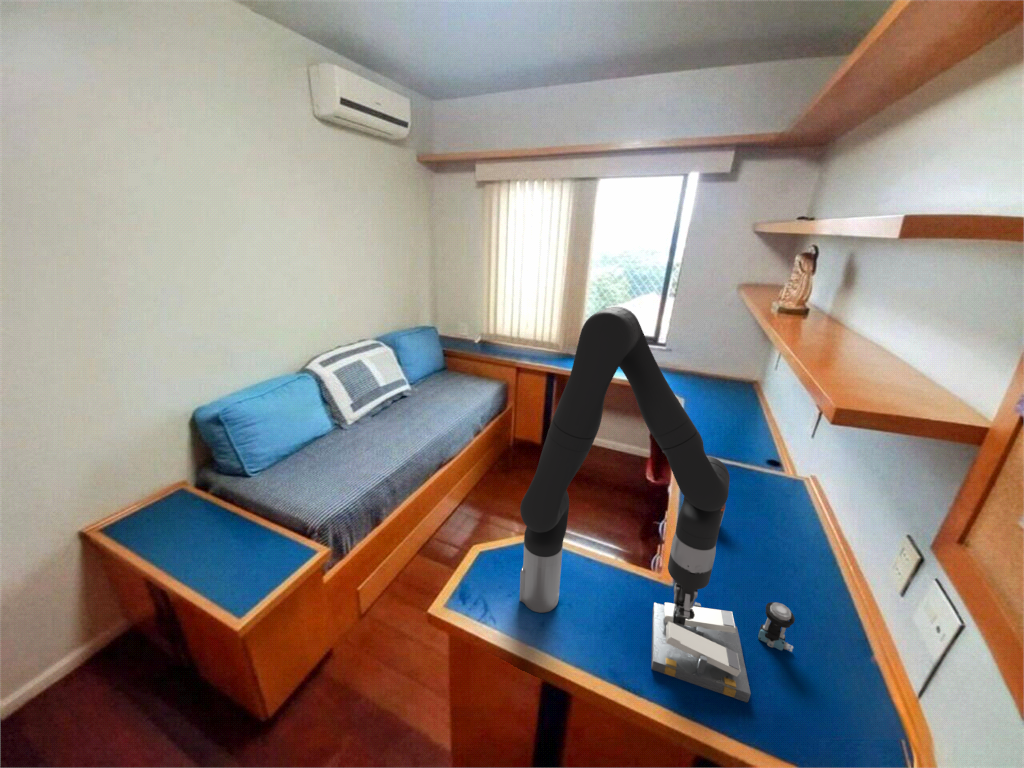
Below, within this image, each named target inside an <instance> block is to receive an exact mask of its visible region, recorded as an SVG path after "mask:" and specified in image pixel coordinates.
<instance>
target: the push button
mask: <svg viewBox="0 0 1024 768" xmlns="http://www.w3.org/2000/svg"><path fill="white" fill-rule="evenodd" d="M765 615H766V617H767V619H766V621H765V623H764V624H761V625H760V628H759V630H758V636H757V637H758V638H757V639H758V640H760V641H762V642H763V643H765V644H766V645H767V646H768V647H770V648H775V649H777V650H779V651H783V650H787V651H789V652H791V653H793V649H794V646H793V645H791V644H789V642H786V635H785V632H786V631H787V630H786V629H788V628H791V626H792V625H793V624H795V622H796V621H795V620H796V618H795V615H794V613H793V612H792V611H791V610H790V608H789V607H787V606H786V605H785V604H783V603H780V602H775V601H770V602H768V603H766V604H765Z"/></svg>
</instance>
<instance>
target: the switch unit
mask: <svg viewBox="0 0 1024 768" xmlns="http://www.w3.org/2000/svg"><path fill="white" fill-rule="evenodd" d="M693 606H695V607H702V605H701V603H700V602H697V601H694V604H693ZM651 625H652V626H651V627H652V628H651V631H652V632H651V670H652V671H655V672H658V673H660V674H664V675H666V676H669V677H672V678H676V679H678V680H680V681H684V682H687V683H690V684H693V685H695V686H698V687H702V688H704V689H707V690H709V691H712V692H716V693H719V694H722V695H724V696H727V697H731V698H734V699H736V700H738V701H742V702H744V703H749V701H750V698H751V694H752V693H751V687H750V685H749V684H750V683H749V679H748V674H747V673H748V672H747V668H746V664H745V660H744V655H743V649H742V644H741V639H740V634H739V631H738V626H736V625H735V633H730V632H724V631H718V630H711V629H705V628H703V627H699V626H697V627H692V626H686V625H684V626H681V625H678V624H676V625H678V626H680V627H682V628H684V629H686V630H689V631H691V632H693V633H695V634H697V635H699V636H702V637H704V638H706V639H708V640H710V641H712V642H714V643H717V644H719V645H721V646H723V647H725V648H727V649H729V650H732V651H734V652H736V653H737V655H738V661H739V666H740V671H741V672H740V673H739V675H738V676H735V675H733V674H730V673H728V672H726V671H724V670H722V669H720V668H718V667H716V666H714V665H712V664H710V663H707V657H705V656H702V655H700V658H697V657H695V656H693V655H691V654H689V653H687V652H685V651H682V650H680V649H678V648H676V647H674V646H672V645H670V644H668V643H666V625H667V622H665V604H662V603H657V602H653V607H652V622H651Z"/></svg>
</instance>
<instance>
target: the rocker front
mask: <svg viewBox="0 0 1024 768" xmlns="http://www.w3.org/2000/svg"><path fill="white" fill-rule="evenodd" d="M666 643H668V644H670V645H672V646H674V647H676V648H678V649H680V650H682V651H685V652H687V653H689V654H691V655H693V656H695V657H697V658H700V655H702V656H705V657H707V663H710V664H712V665H714V666H716V667H718V668H720V669H722V670H724V671H726V672H728V673H730V674H733V675H735V676H738V675H739V673H740V672H741V671H740V666H739V661H738V655H737V653H736V652H734V651H732V650H729V649H727V648H725V647H723V646H721V645H719V644H717V643H714V642H712V641H710V640H708V639H706V638H704V637H702V636H699V635H697V634H695V633H693V632H691V631H689V630H686V629H684V628H682V627H680V626H678V625H676V624H674V623H671V622H668V623H667V625H666Z"/></svg>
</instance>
